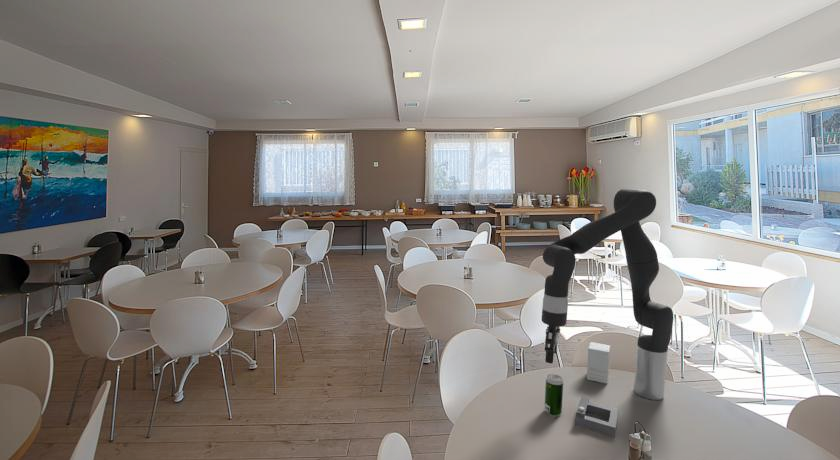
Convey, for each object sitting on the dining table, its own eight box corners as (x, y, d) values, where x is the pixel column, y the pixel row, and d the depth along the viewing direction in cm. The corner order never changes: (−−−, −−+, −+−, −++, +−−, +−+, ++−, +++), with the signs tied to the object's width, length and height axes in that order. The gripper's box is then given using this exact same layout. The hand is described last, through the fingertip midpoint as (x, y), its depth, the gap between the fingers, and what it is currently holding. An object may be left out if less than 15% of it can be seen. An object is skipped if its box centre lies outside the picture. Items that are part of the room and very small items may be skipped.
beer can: (554, 419, 123) (556, 383, 122) (540, 411, 128) (542, 376, 126) (565, 414, 126) (567, 379, 125) (551, 406, 131) (553, 372, 129)
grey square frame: (580, 408, 130) (581, 393, 129) (617, 418, 124) (618, 403, 124) (575, 425, 120) (576, 410, 120) (615, 437, 115) (616, 421, 114)
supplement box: (609, 376, 152) (611, 345, 150) (607, 384, 145) (609, 352, 144) (588, 371, 155) (590, 341, 154) (586, 379, 149) (587, 347, 148)
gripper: (564, 317, 115) (560, 369, 117) (569, 304, 128) (565, 352, 129) (538, 312, 118) (535, 363, 120) (545, 301, 131) (542, 347, 133)
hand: (551, 357), depth 125 cm, fingers open, 8 cm apart
